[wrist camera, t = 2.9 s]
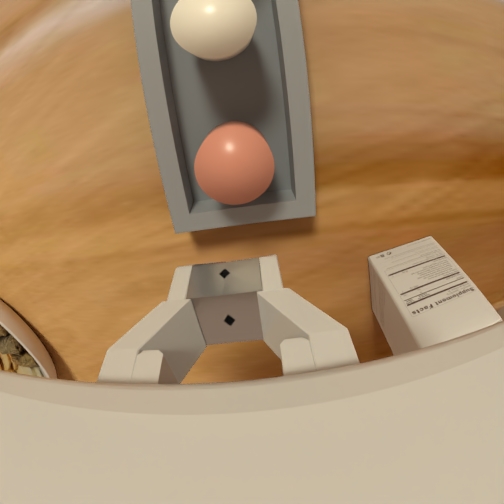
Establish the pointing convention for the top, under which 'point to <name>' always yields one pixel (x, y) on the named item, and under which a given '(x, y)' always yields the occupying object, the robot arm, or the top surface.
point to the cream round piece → (213, 27)
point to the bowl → (22, 347)
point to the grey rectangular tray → (229, 112)
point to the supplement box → (424, 297)
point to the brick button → (234, 163)
